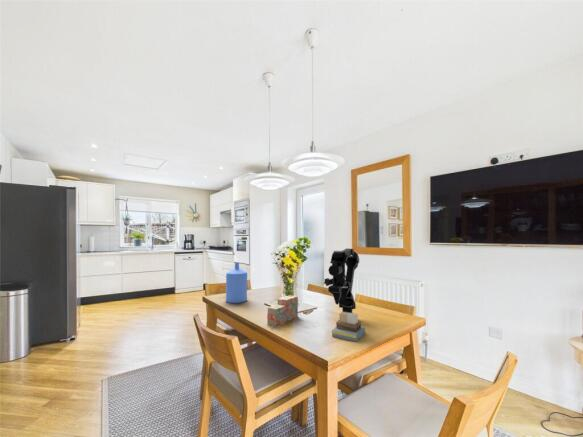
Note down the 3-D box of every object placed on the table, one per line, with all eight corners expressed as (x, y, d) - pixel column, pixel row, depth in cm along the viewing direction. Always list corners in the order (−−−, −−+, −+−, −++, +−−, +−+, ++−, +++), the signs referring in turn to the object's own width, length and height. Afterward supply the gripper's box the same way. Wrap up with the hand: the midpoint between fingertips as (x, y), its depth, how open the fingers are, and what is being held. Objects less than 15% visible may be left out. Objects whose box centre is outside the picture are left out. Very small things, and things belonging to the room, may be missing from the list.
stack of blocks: (276, 326, 142) (276, 303, 142) (267, 324, 145) (267, 301, 146) (297, 316, 159) (297, 296, 160) (289, 315, 163) (289, 294, 163)
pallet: (341, 324, 136) (341, 318, 136) (361, 328, 131) (360, 321, 131) (336, 328, 130) (336, 322, 131) (356, 332, 125) (356, 325, 125)
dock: (342, 328, 139) (342, 322, 139) (365, 332, 132) (365, 326, 133) (331, 336, 128) (331, 330, 128) (355, 341, 121) (355, 335, 121)
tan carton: (342, 319, 135) (342, 311, 135) (350, 320, 132) (349, 312, 133) (339, 321, 131) (339, 313, 131) (347, 323, 129) (347, 314, 129)
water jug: (250, 301, 195) (250, 263, 197) (229, 304, 187) (229, 264, 189) (242, 297, 209) (243, 261, 210) (223, 299, 201) (223, 262, 202)
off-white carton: (350, 320, 132) (349, 312, 133) (357, 322, 130) (357, 313, 131) (347, 323, 129) (347, 314, 129) (355, 324, 127) (355, 316, 127)
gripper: (333, 270, 158) (333, 297, 157) (319, 274, 143) (319, 304, 142) (351, 272, 152) (351, 299, 151) (338, 276, 137) (338, 307, 136)
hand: (340, 302), depth 145 cm, fingers open, 9 cm apart
